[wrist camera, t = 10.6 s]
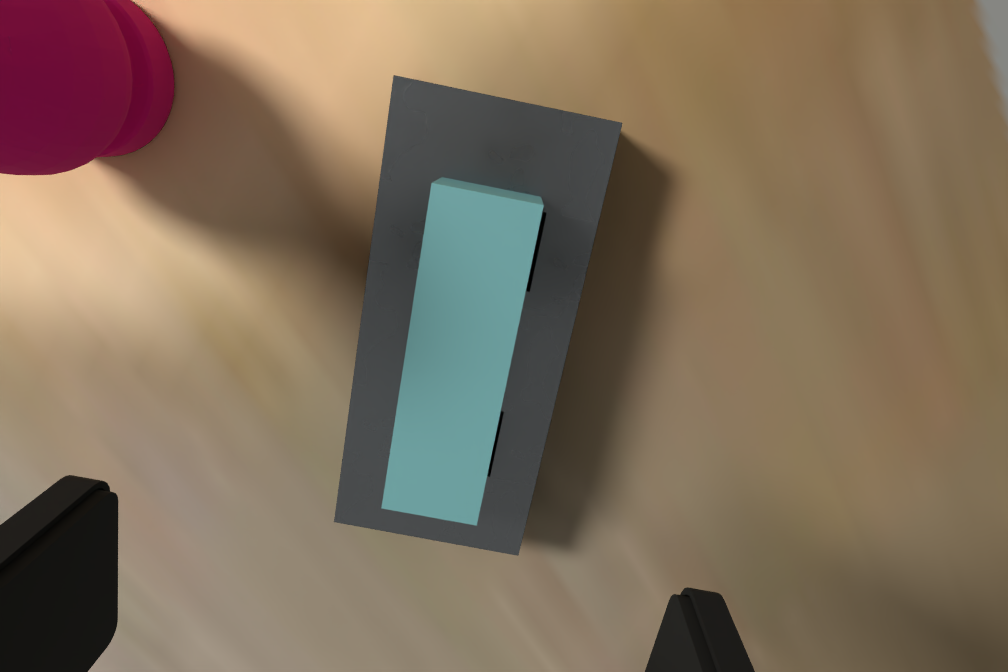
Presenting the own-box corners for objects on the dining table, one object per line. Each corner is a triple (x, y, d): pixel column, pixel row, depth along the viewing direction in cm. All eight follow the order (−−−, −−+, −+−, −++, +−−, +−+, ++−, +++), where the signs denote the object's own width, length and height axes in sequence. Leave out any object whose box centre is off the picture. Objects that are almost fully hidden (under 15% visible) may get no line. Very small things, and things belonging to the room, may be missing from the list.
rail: (408, 81, 25) (393, 75, 22) (610, 124, 25) (622, 122, 22) (351, 484, 30) (334, 521, 27) (518, 515, 30) (518, 555, 27)
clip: (450, 172, 25) (431, 182, 20) (538, 190, 26) (543, 205, 20) (407, 439, 29) (381, 508, 24) (484, 453, 29) (476, 525, 24)
